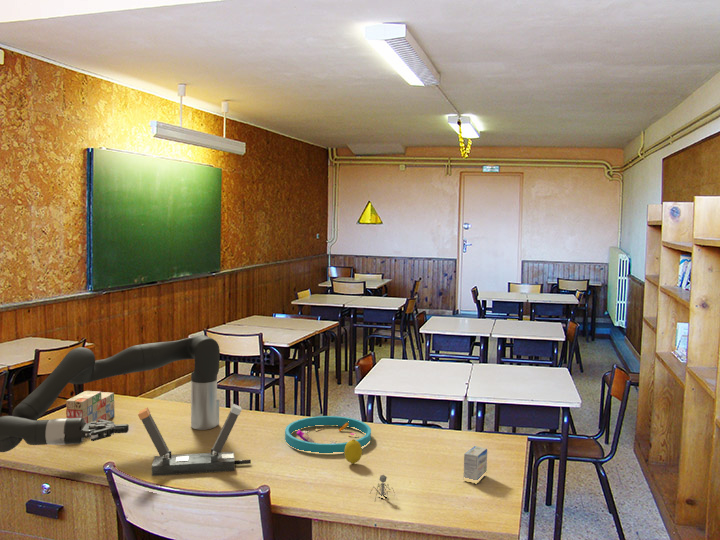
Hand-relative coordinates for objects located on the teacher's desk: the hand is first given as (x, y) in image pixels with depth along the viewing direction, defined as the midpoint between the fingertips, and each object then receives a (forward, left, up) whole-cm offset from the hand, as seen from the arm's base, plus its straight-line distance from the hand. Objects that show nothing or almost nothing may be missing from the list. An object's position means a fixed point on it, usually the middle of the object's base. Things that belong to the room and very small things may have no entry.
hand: (128, 428), depth 187 cm
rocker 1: (-9, +7, -10) cm, 15 cm away
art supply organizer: (-62, +23, -14) cm, 68 cm away
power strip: (-17, +13, -13) cm, 25 cm away
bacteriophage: (-39, +66, -14) cm, 78 cm away
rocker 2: (-20, +15, -10) cm, 27 cm away
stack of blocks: (-13, -49, -14) cm, 52 cm away
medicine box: (-68, +78, -14) cm, 105 cm away
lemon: (-51, +44, -14) cm, 69 cm away
